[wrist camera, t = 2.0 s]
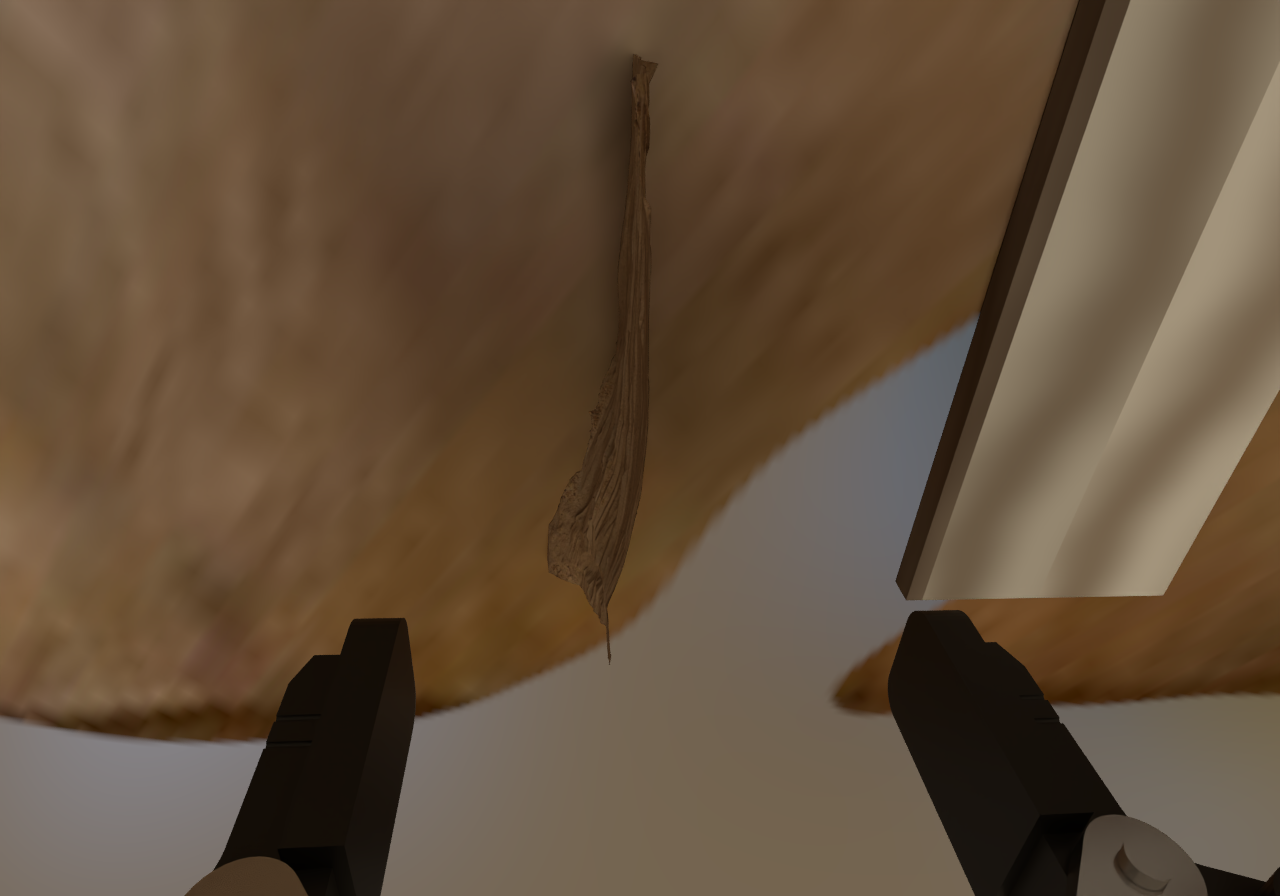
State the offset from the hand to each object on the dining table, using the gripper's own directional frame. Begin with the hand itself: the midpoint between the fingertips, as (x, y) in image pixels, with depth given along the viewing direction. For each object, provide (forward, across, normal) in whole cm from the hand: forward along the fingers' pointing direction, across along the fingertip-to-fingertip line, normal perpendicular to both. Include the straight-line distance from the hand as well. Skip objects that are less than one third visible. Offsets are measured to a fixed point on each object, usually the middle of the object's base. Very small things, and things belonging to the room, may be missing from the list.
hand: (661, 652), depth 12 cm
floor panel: (+12, -16, -1) cm, 20 cm away
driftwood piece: (+12, +1, 0) cm, 12 cm away
